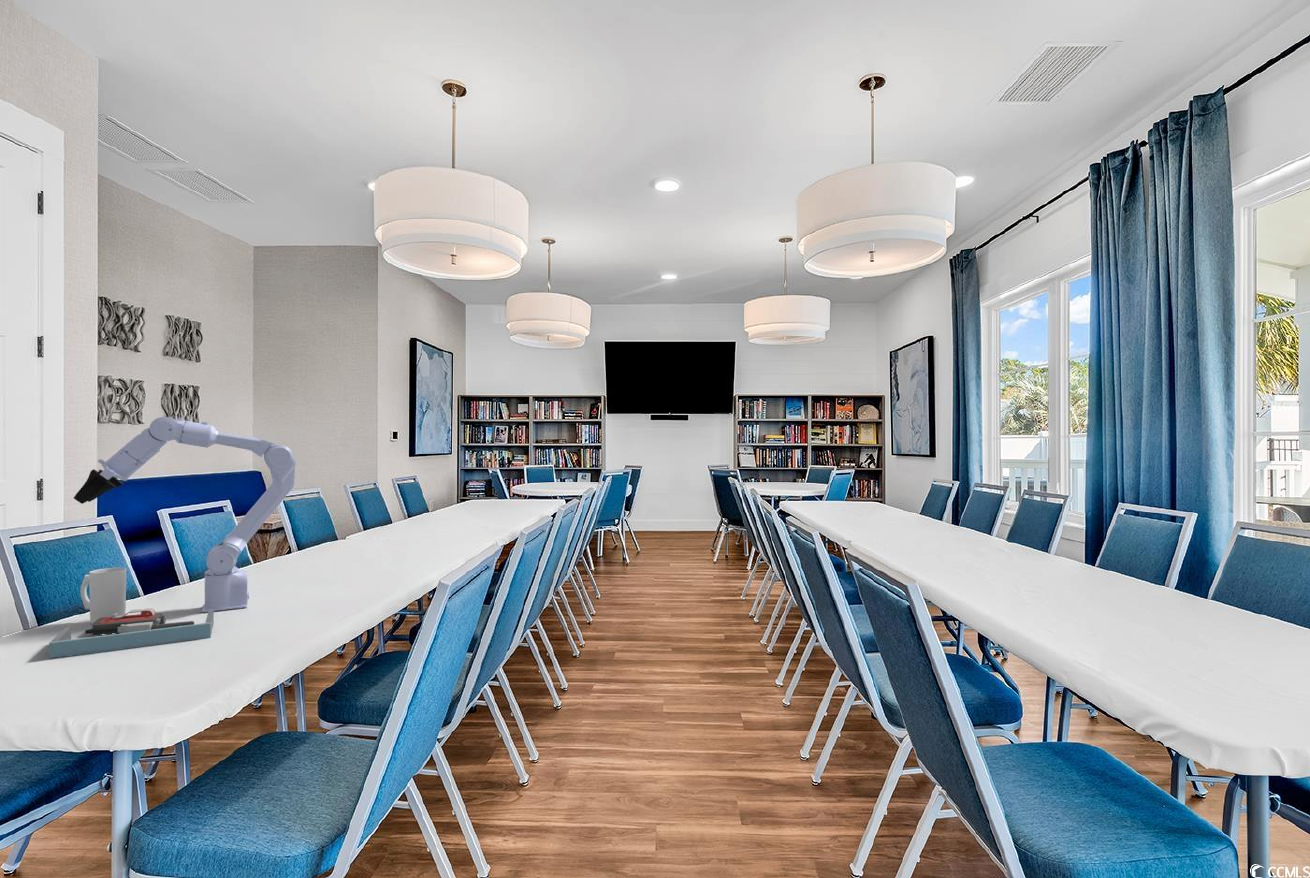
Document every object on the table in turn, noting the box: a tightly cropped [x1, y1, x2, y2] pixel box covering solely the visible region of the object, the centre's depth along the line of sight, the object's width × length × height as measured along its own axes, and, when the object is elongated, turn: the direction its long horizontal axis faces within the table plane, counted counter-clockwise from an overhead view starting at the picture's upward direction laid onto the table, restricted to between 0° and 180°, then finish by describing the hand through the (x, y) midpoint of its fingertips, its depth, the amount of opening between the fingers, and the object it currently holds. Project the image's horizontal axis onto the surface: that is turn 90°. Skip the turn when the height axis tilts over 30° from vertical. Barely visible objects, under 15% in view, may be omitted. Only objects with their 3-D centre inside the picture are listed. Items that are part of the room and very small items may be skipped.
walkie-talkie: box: [85, 608, 195, 636], centre depth 147 cm, size 9×4×20 cm
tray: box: [48, 611, 215, 659], centre depth 139 cm, size 26×12×3 cm, turn 122°
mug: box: [80, 567, 127, 625], centre depth 153 cm, size 10×7×12 cm, turn 86°
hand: (81, 500), depth 151 cm, fingers open, 7 cm apart
